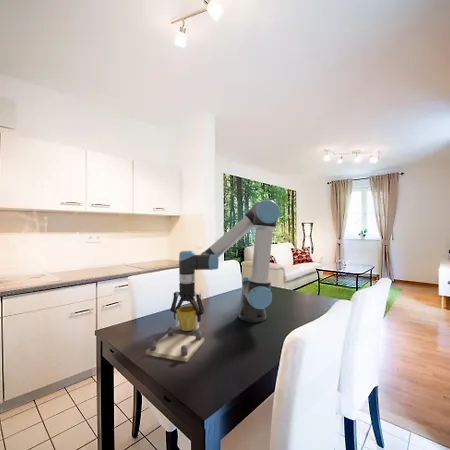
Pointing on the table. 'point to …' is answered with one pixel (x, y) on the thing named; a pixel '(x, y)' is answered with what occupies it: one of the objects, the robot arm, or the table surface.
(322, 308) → the table surface
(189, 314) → the plant pot
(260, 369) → the table surface
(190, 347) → the stub plate
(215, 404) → the table surface
